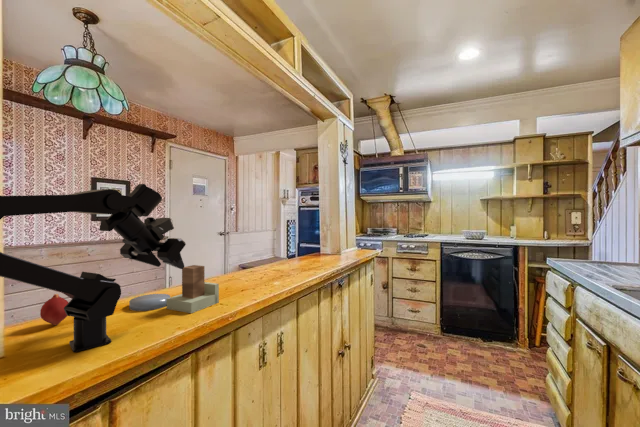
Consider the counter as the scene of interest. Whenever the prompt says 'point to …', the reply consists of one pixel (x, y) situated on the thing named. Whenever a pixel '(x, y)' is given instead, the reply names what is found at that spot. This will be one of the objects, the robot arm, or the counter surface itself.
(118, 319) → the counter surface
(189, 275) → the walnut block
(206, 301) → the ledge
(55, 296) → the onion
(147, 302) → the disc
